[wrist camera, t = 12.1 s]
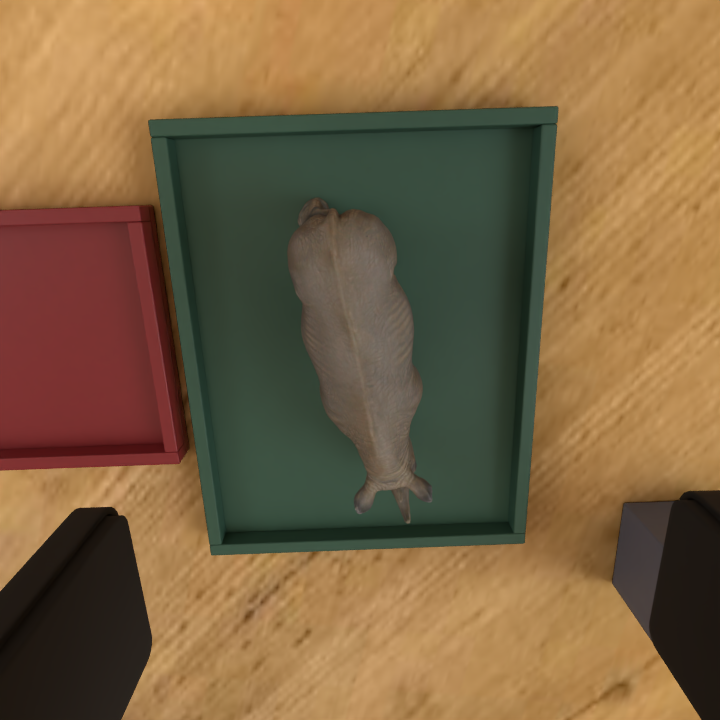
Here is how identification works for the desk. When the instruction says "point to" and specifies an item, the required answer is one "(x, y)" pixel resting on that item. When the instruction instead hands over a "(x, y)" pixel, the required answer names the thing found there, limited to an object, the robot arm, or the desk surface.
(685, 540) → the robot arm
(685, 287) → the desk surface
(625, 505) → the block
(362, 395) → the rhino figurine
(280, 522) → the green tray
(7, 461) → the burgundy tray
